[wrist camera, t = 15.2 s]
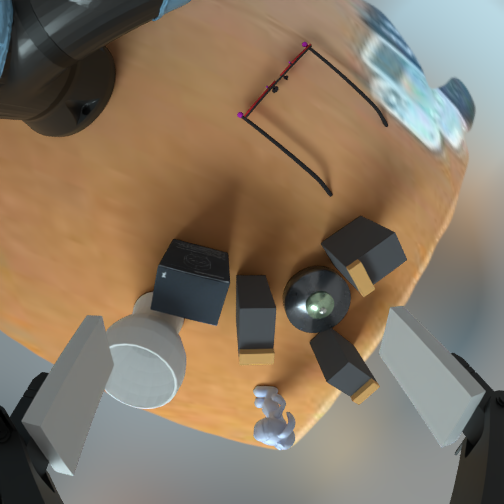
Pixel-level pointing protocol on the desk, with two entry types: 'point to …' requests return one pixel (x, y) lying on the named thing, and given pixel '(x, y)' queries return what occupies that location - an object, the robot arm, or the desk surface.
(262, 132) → the glasses
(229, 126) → the desk surface
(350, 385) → the dark grey block
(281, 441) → the toy figurine
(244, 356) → the grey tan block
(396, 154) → the desk surface
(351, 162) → the desk surface
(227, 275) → the box
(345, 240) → the dark grey tan-ended block
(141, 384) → the cup
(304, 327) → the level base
